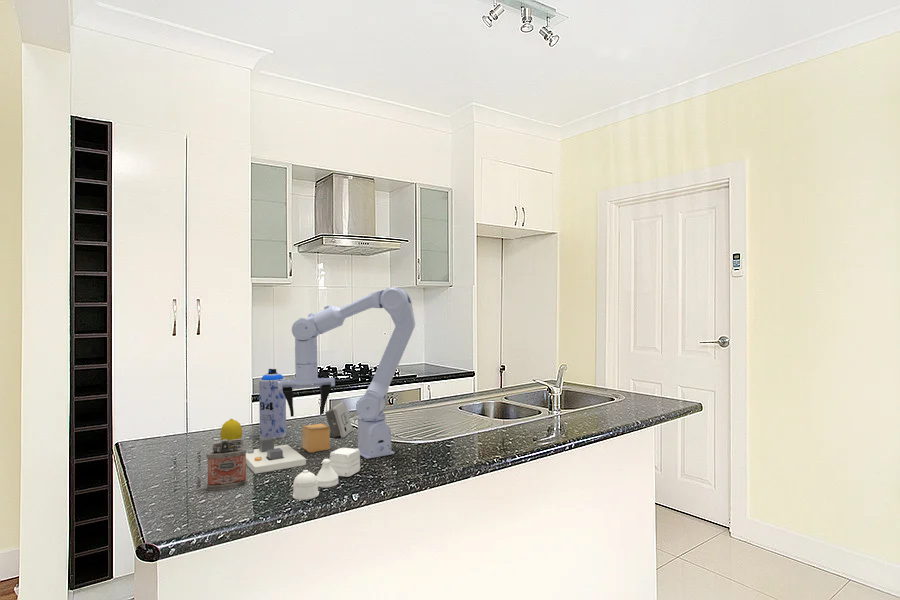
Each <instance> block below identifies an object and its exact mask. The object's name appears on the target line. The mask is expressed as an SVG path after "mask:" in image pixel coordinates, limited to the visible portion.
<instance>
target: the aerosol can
mask: <svg viewBox="0 0 900 600" xmlns="http://www.w3.org/2000/svg"><path fill="white" fill-rule="evenodd" d="M278 381H286V377H284V375H282V374H281V373H279V372H277V368H268V372H267V373H265V374H264V375H263V376H261V378H260V379H259V385H258V389H259V396H258V397H259V398H258V400H259V407H258V408H259V435H258V437H259V438H264V437H272V438H273V439H274V440H276V439H282V438H285V437H287V436H288V435H287V434H288V433H287V400H286V398H285V396H284V394H283V390H282V389H278Z"/></svg>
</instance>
